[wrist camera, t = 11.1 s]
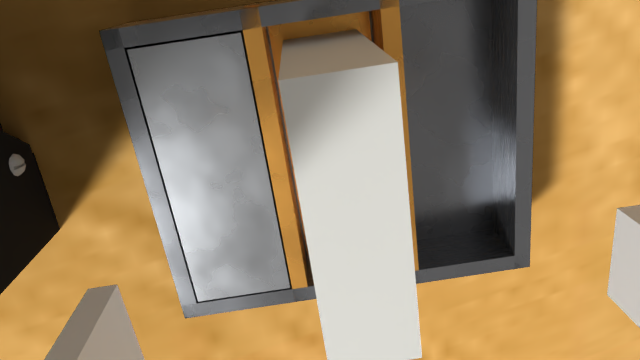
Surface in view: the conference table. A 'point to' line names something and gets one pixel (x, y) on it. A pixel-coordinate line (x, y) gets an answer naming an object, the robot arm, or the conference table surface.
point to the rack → (274, 150)
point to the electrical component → (21, 209)
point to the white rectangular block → (353, 192)
